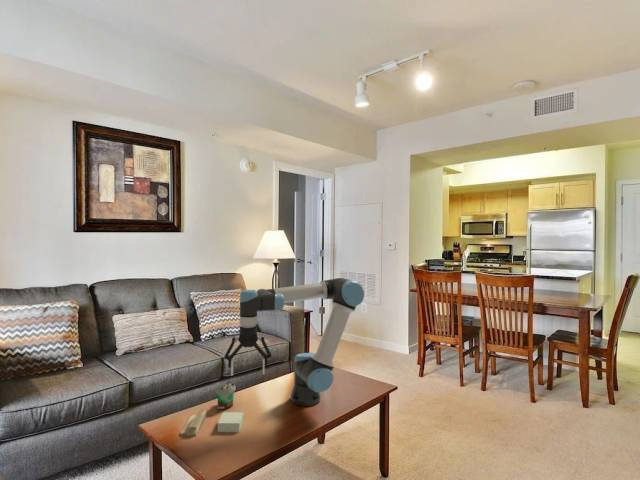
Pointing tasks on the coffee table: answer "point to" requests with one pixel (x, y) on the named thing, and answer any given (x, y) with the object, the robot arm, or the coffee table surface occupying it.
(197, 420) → the beige ridged bar
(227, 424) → the block
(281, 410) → the coffee table surface
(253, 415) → the coffee table surface
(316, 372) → the robot arm
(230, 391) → the food container
